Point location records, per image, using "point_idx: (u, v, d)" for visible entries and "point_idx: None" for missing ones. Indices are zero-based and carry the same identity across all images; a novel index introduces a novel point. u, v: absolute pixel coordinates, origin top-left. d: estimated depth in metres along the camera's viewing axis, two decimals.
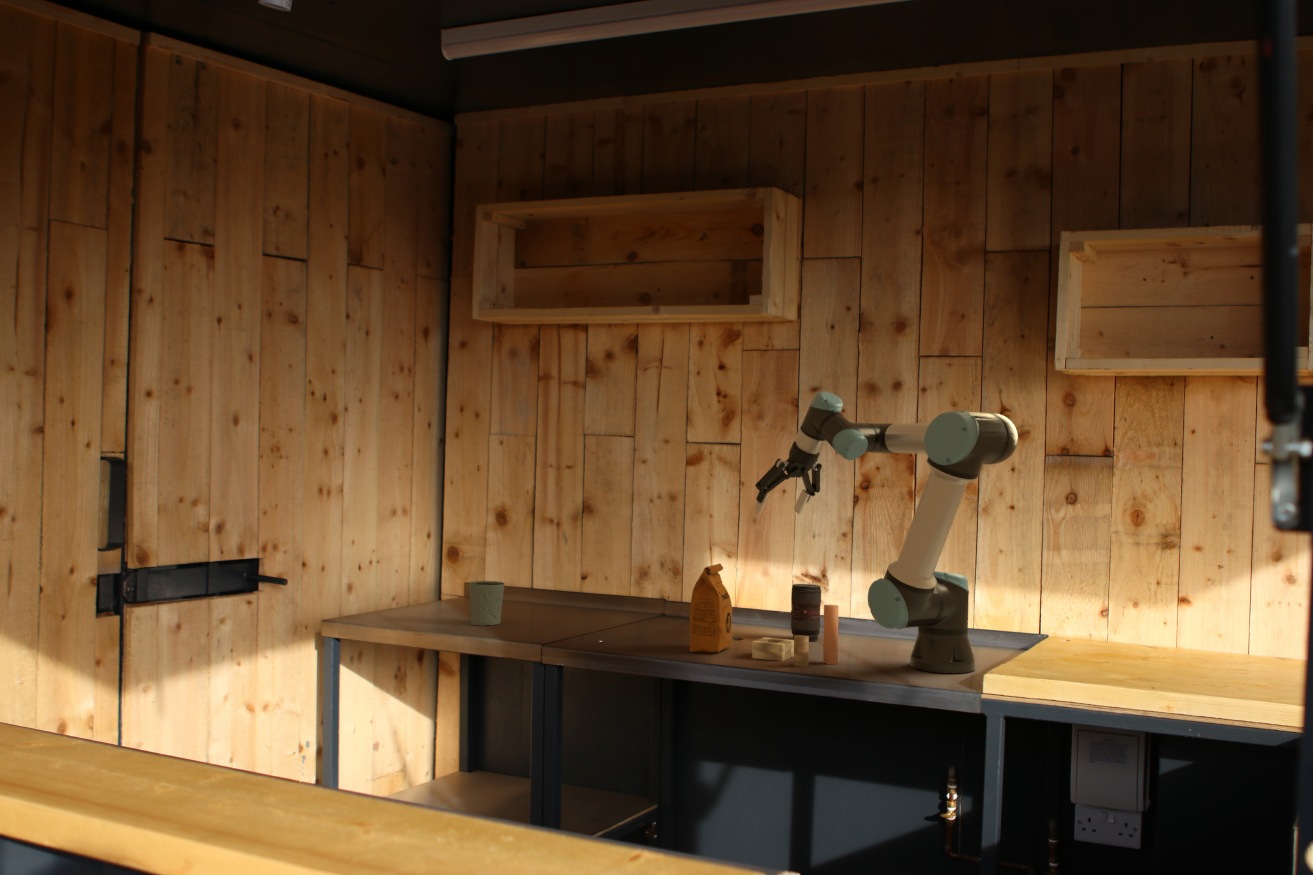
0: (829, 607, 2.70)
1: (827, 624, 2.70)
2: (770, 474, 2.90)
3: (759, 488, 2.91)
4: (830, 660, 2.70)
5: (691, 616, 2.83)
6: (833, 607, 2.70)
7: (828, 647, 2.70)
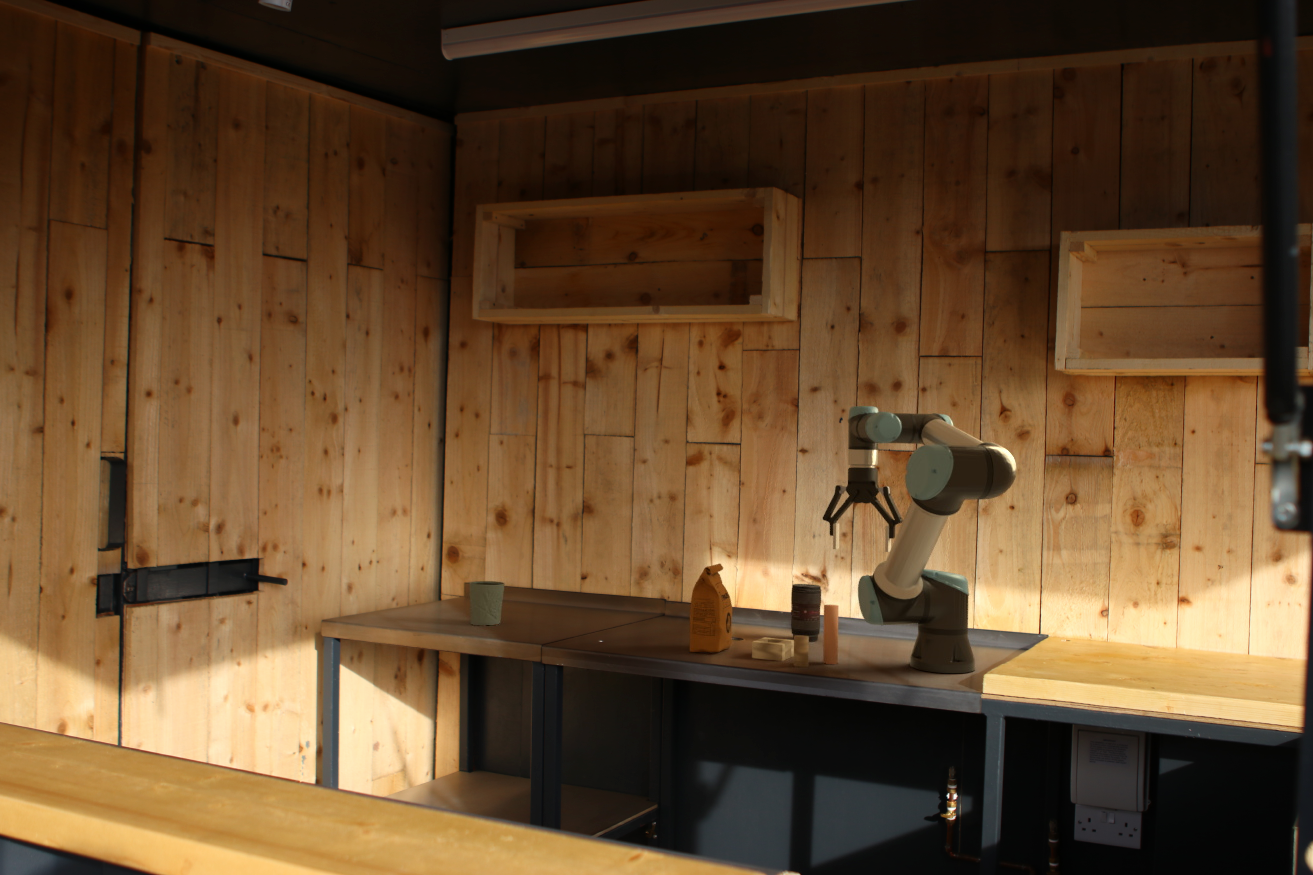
0: (829, 607, 2.70)
1: (827, 624, 2.70)
2: None
3: None
4: (830, 660, 2.70)
5: (691, 616, 2.83)
6: (833, 607, 2.70)
7: (828, 647, 2.70)
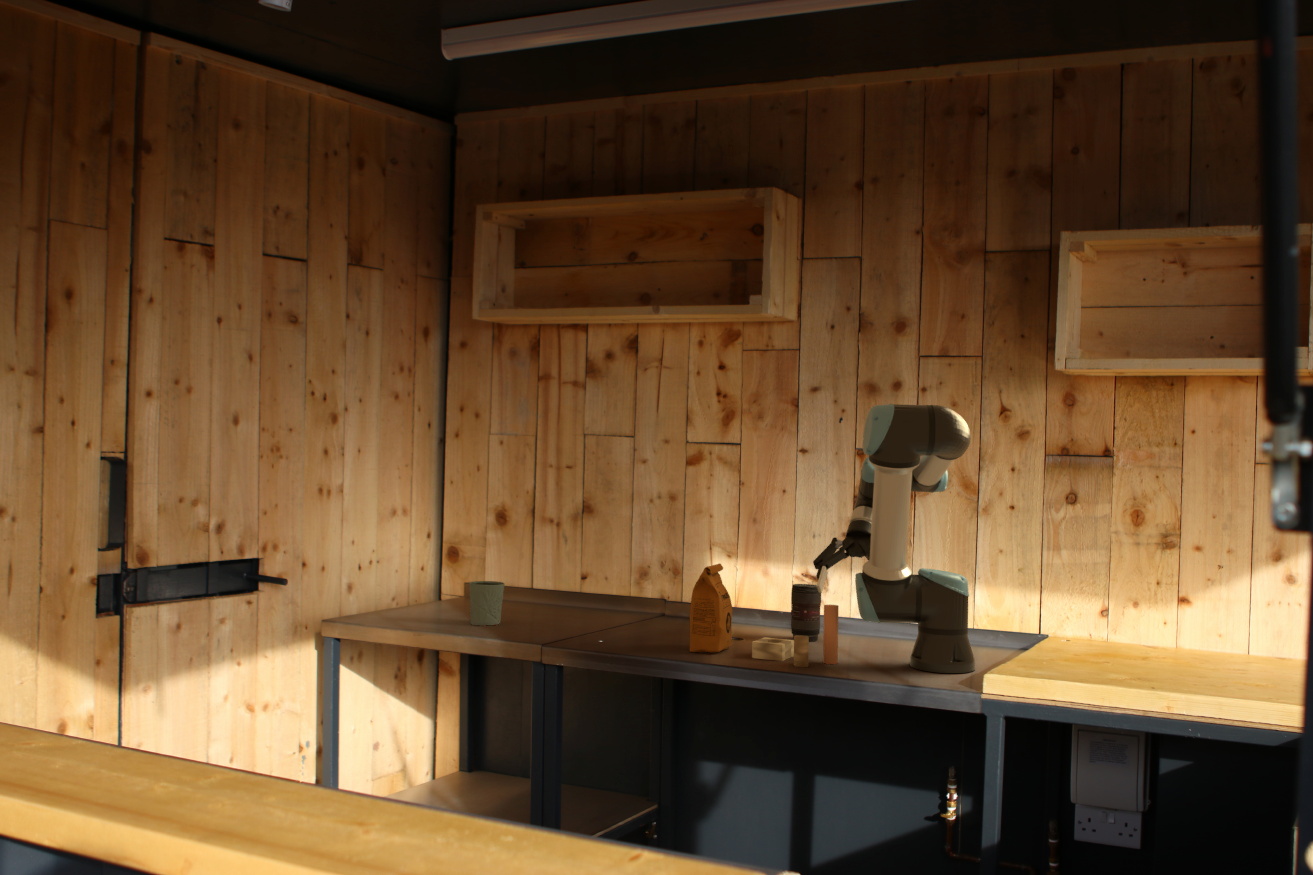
0: (829, 607, 2.70)
1: (827, 624, 2.70)
2: None
3: None
4: (830, 660, 2.70)
5: (691, 616, 2.83)
6: (833, 607, 2.70)
7: (828, 647, 2.70)
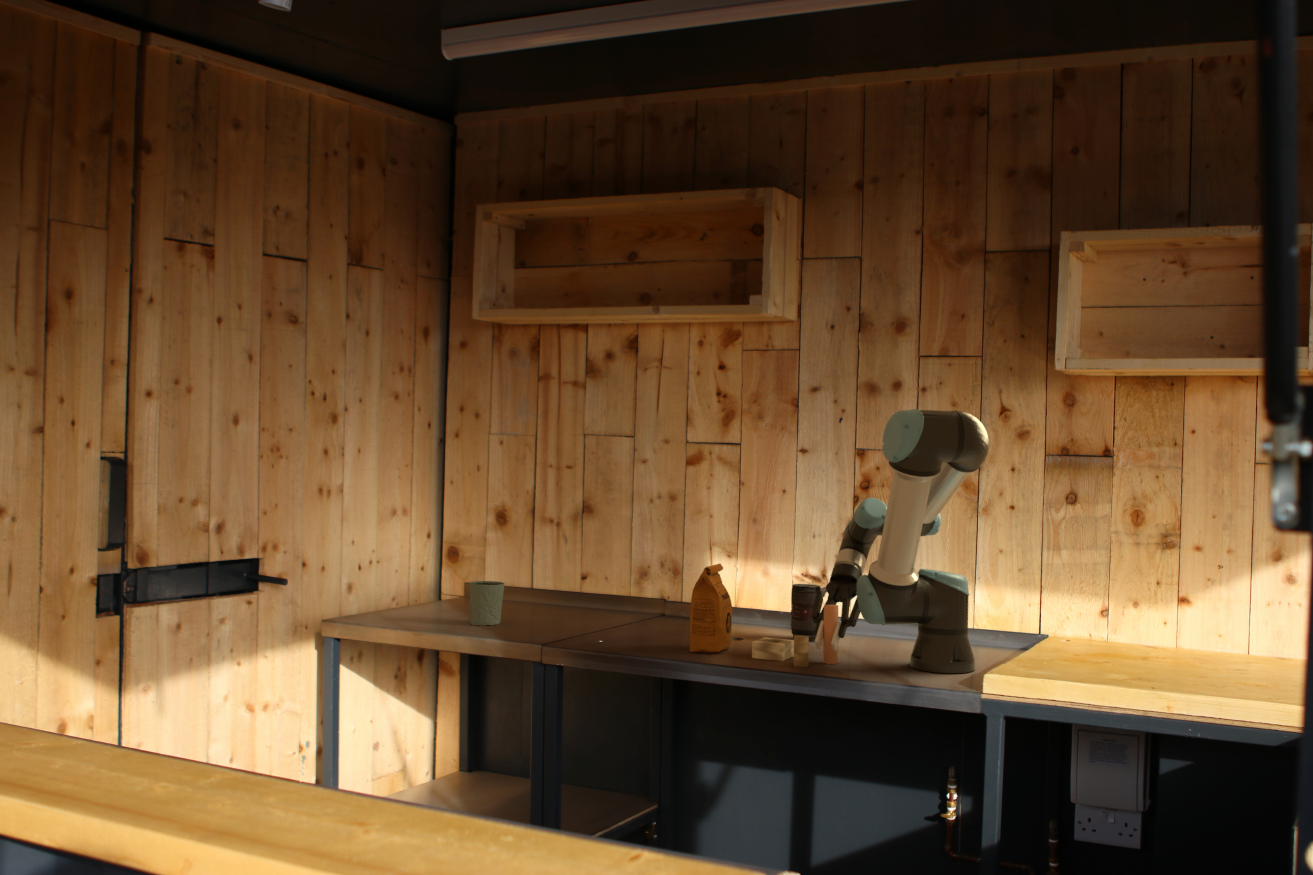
0: (829, 607, 2.70)
1: (827, 624, 2.70)
2: None
3: None
4: (830, 660, 2.70)
5: (691, 616, 2.83)
6: (833, 607, 2.70)
7: (828, 647, 2.70)
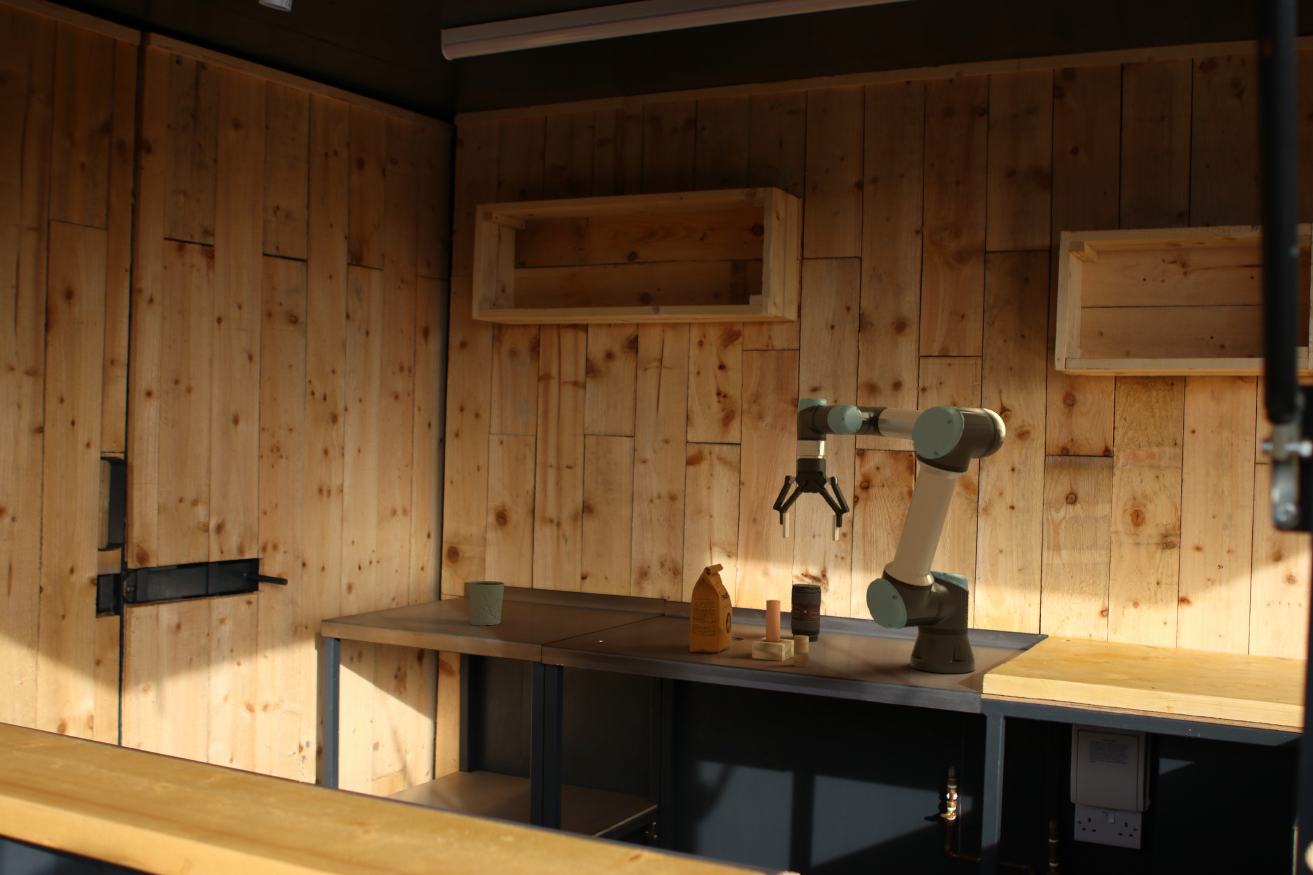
0: (771, 602, 2.77)
1: (769, 619, 2.77)
2: None
3: None
4: None
5: (691, 616, 2.83)
6: (775, 602, 2.77)
7: (770, 641, 2.77)
